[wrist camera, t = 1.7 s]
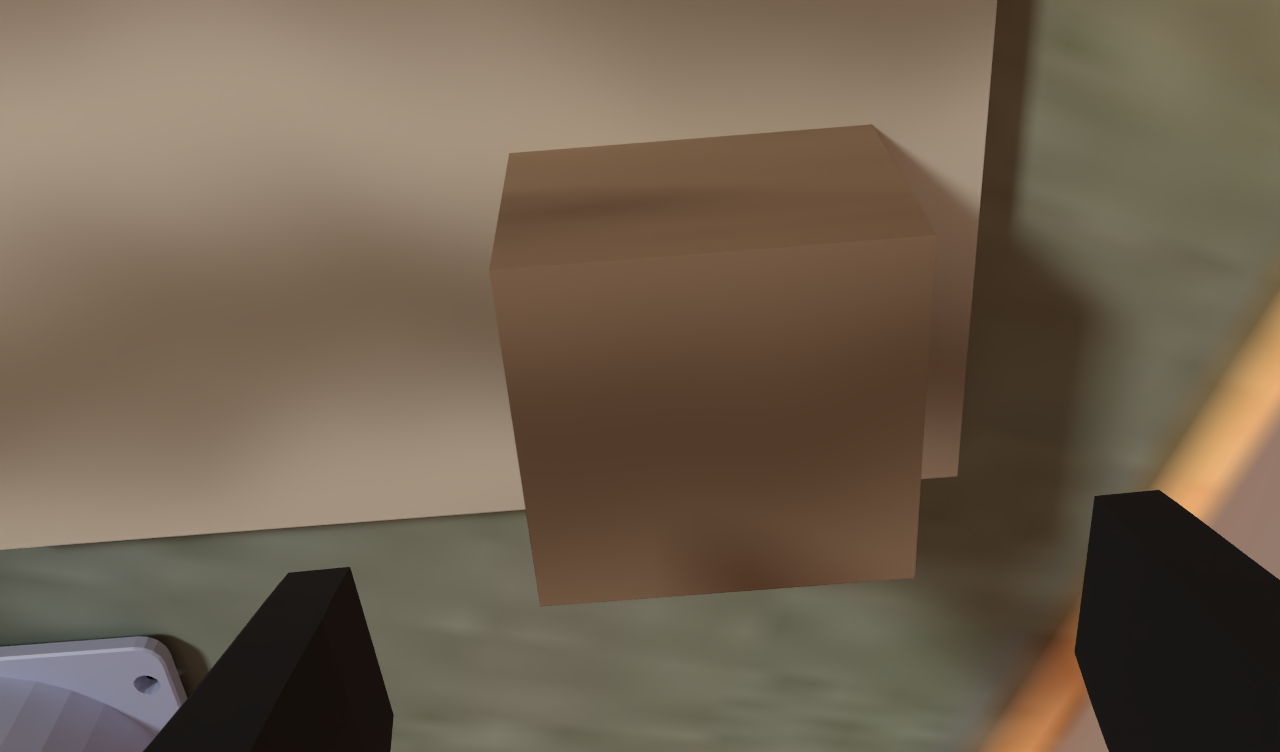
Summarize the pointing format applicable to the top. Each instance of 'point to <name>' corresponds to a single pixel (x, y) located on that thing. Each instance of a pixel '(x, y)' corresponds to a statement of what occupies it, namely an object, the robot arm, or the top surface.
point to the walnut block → (715, 362)
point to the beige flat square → (376, 229)
